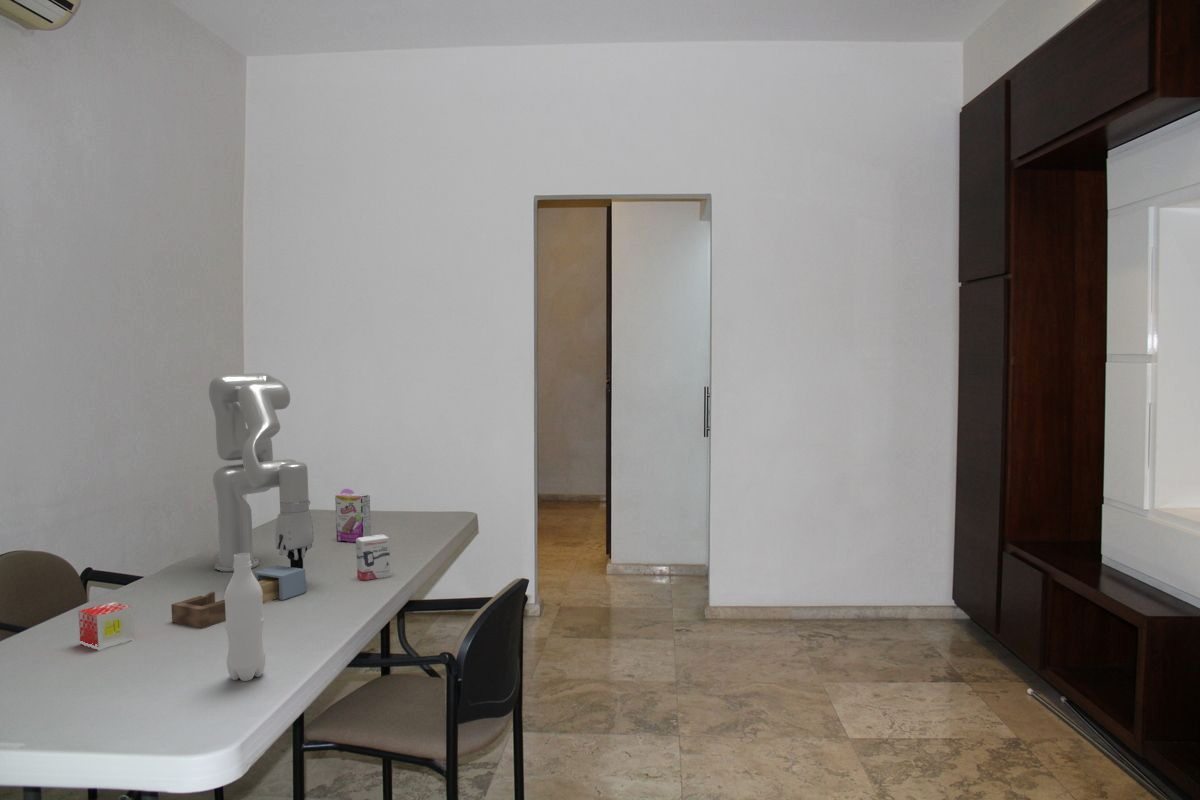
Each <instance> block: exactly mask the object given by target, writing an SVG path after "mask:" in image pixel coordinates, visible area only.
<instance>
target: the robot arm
mask: <svg viewBox="0 0 1200 800" xmlns="http://www.w3.org/2000/svg"><path fill="white" fill-rule="evenodd" d="M288 388H289V387H287V385H286V384H285V382H283V381H281V380H280V379H278V378H277V377H274V376H272V375H270V374H268V373H264V372H263V373H261V372H260V373H230V374H222V375H221V374H220V375H218V376H215V377H214V378H213V379H211V381H210V382H209V387H208V397H209V401H210V404H211V408H212V410H213V413H214V417H215V436H216V437H215V438H216V440H215V441H216V450H217V455H218V458H220V460H223V461H228V462H230V461H242V463H238V464H231V465H229V464H228V465H225V466H222V467H219V468H218V469H216V470H215V471H214V473H213V476H212V483H213V489H214V494H215V498H216V505H217V523H218V524H217V525H218V545H219V546H218V547H219V550H218V552H217V553H215V554H213V558H214V559H217V561H218V562H217V563H216V564H215V565H214V570H215V569H217V570H220V571H219V572H234V568H233V565H234V564H233V563H234V555H235V554H239V553H249V554H250V561H251V564H252V566H251V569H253V568H256V567H258V566H259V565H260V561H259V559H257V558H254V545H253V544H254V538H253V515H252V509H251V506H250V504H249V503H248V501H246V499H244V496H246V495H252V494H253V495H254V494H259V493H264V492H267V491H270V490H271V489H272V488H279V489H278V490H279V513H278V514H277V517H276V522H275V523H276V525H275V538H274V540H275V549H277V550H279V553H278V554H279V556H286V557H287V559H288V560H289V562H290V563H289V564H290V566H289V567H294V568H301V569H304V558H306V557H305V556H306V553H307V551H309V550H310V549H312V547H313V543H314V538H315V536H314V532H315V531H314V522H313V517H312V513H311V509H310V506H309V505H311V501H310V500H309V499H310V498H309V475H308V474H309V473H308V466H307V464H306V463H304V462H301V461H300V462H299V461H297V460H295V459H291V458H289V459H288V458H287V459H278V460H277V459H275V460H274V455H273V454H274V453H273V441H272V438H273V437H275V436H276V435H277V434H278V433H279V432H280V430H281V423H280V420H279V418H278V416H277V415H278V414H277V413H276V411H277V410H284V409H286V408H288V406H290V403H291V395H290V391H289V389H288ZM217 570H216V571H217Z"/></svg>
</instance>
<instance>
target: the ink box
mask: <svg viewBox="0 0 1200 800" xmlns="http://www.w3.org/2000/svg"><path fill="white" fill-rule="evenodd" d="M355 544H356V546H355V548H356V549H355V550H356V551H355V552H356V570H357V571H356V574H357V579H359V580H360V581H362V582H365V581H364V580H366V581H370V579H372V580H377V578H378V579H383V577H384V578H389V577H391V558H390V557H391V553H390V551H391V550H390V547H391V546H390V537H388V536H387V535H386V534H375V535H371V536H367V537H360V538H357V539H356V543H355Z"/></svg>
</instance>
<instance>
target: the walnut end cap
mask: <svg viewBox="0 0 1200 800" xmlns="http://www.w3.org/2000/svg"><path fill="white" fill-rule="evenodd" d="M170 606H171V622H172V623H173V622H175V623H174V624H178V623H179V625H185V626H188V625H189V626H188V627H193V626H195V628H198V627H200V628H199V629H205V628H207V626H208V627H211V626H213V625H216V624H219V623H222V622H226V612H225V600H224V599H221V600H219V601H216V592H215V591H210V592H208V593H207V594H205V595H204V596H202V595H197V596H195V597H191V598H188V599H185V600H182V601H181V600H180V601H178V602H175V603H171V605H170ZM218 622H219V623H218ZM215 623H216V624H215ZM204 627H205V628H204Z"/></svg>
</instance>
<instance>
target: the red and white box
mask: <svg viewBox="0 0 1200 800" xmlns="http://www.w3.org/2000/svg"><path fill="white" fill-rule="evenodd" d="M77 613H78V627H79V629H78V630H79V642H80V641H83V642H85V643H88V644H92V643H93V644H92V645H94V646H95V644H97V645H98V646H97V647H100V646H101V645H107V644H110V643H114V642H117V641H122V640H125V639H129V638H134V639H135V632H134V611H133V606H130V605H126V604H123V603H119V602H116V601H113V602H108V603H105V604H100V605H96V606H93V607H88V608H84V609H81V610H78V611H77Z"/></svg>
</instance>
